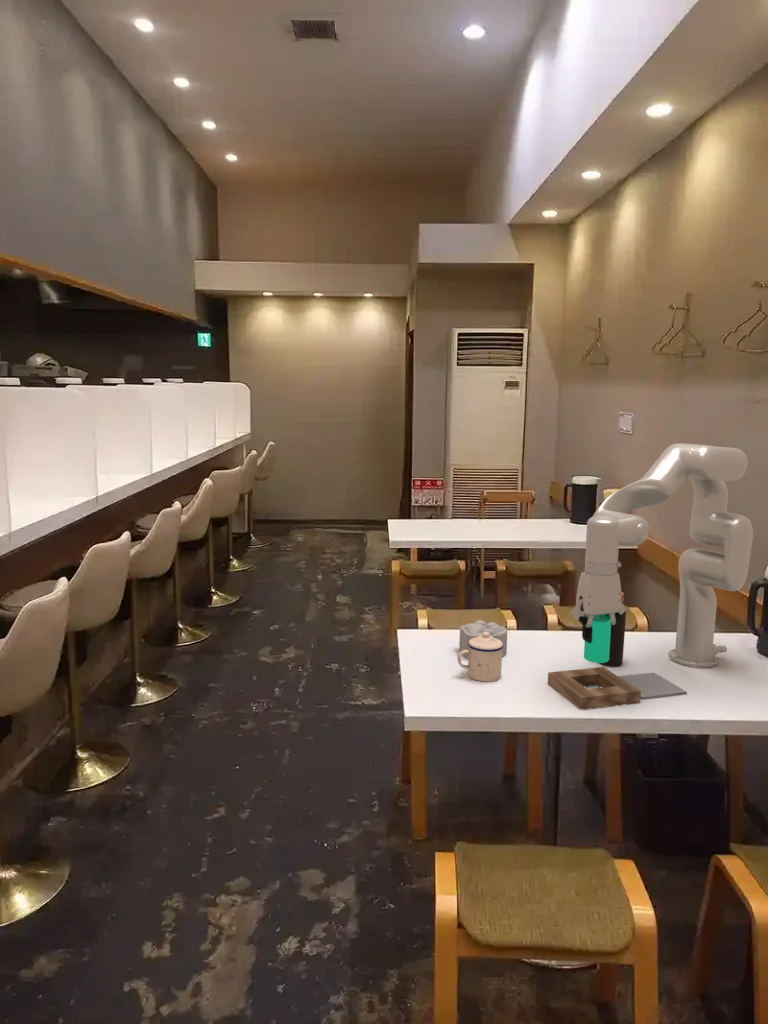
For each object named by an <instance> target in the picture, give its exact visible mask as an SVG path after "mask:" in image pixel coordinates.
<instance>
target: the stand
mask: <svg viewBox="0 0 768 1024" xmlns="http://www.w3.org/2000/svg"><path fill="white" fill-rule="evenodd" d="M619 676H620V675H617V674H616V673H614V672H612V671H611V670H609V669H608V668H606V667H604V666H598V667H589V668H580V669H570V670H559V671H548V673H547V685H548V686H550V687H551V688H552V689H554V690H555V691H556V692H557V693H559V694H560V695H562V697H564V698H565V699H567V701H569V702H571V704H573V705H574V706H575V707H577V708H578V709H579V708H580V709H579V710H581V709H585V710H588V709H587V708H593V709H597V708H596V707H601V708H605V707H604V706H609V707H614V706H615V705H618V706H623V704H626V705H631V704H632V705H634V704H640V703H641V699H640V698H641V691H640V690H639V689H637V688H636V687H634V686H633V685H631V684H629V683H628V682H626V681H625V680H623V679H622V678H620V677H619ZM590 685H594V686H598V685H599V686H598V688H597V687H596V688H590V689H589V688H586V687H591V686H590ZM584 686H585V687H584ZM601 687H602V688H601Z"/></svg>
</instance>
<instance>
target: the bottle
mask: <svg viewBox="0 0 768 1024" xmlns="http://www.w3.org/2000/svg"><path fill="white" fill-rule="evenodd" d="M624 595H625V593H624V592H623V591H621V602H622V603H623V604H624V600H625V599H624ZM626 618H627V610H626V611H625V612H624V613H623V614H622V615H620V617H619V618H618V619H617V621H616V624H615V625H613V636H612V641H610V653H609V661H608V662H605V663H599V664H600V665H602V666H606V667H614V668H615V667H620V666H622V665H623V662H624V661H623V660H624V651H625V650H624V648H625V647H624V646H625V633H626V622H627V621H626Z"/></svg>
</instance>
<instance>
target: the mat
mask: <svg viewBox="0 0 768 1024" xmlns="http://www.w3.org/2000/svg"><path fill="white" fill-rule="evenodd" d="M618 676H619V677H620V678H622V679H623V680H625V681H626V682H628V683H629V684H631V685H633V686H634V687H636V688H637V689H639V690H640V691H641V698H640V700H650V699H656V698H666V697H675V696H682V695H687V694H688V691H686V690H684V689H683V688H681V687H680V686H678V685H676V684H674V683H673V682H671V681H669V680H667V679H666V678H665V677H662V676H661V675H659V674H657V672H647V673H646V672H645V673H637V674H628V675H627V674H626V675H618Z"/></svg>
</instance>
